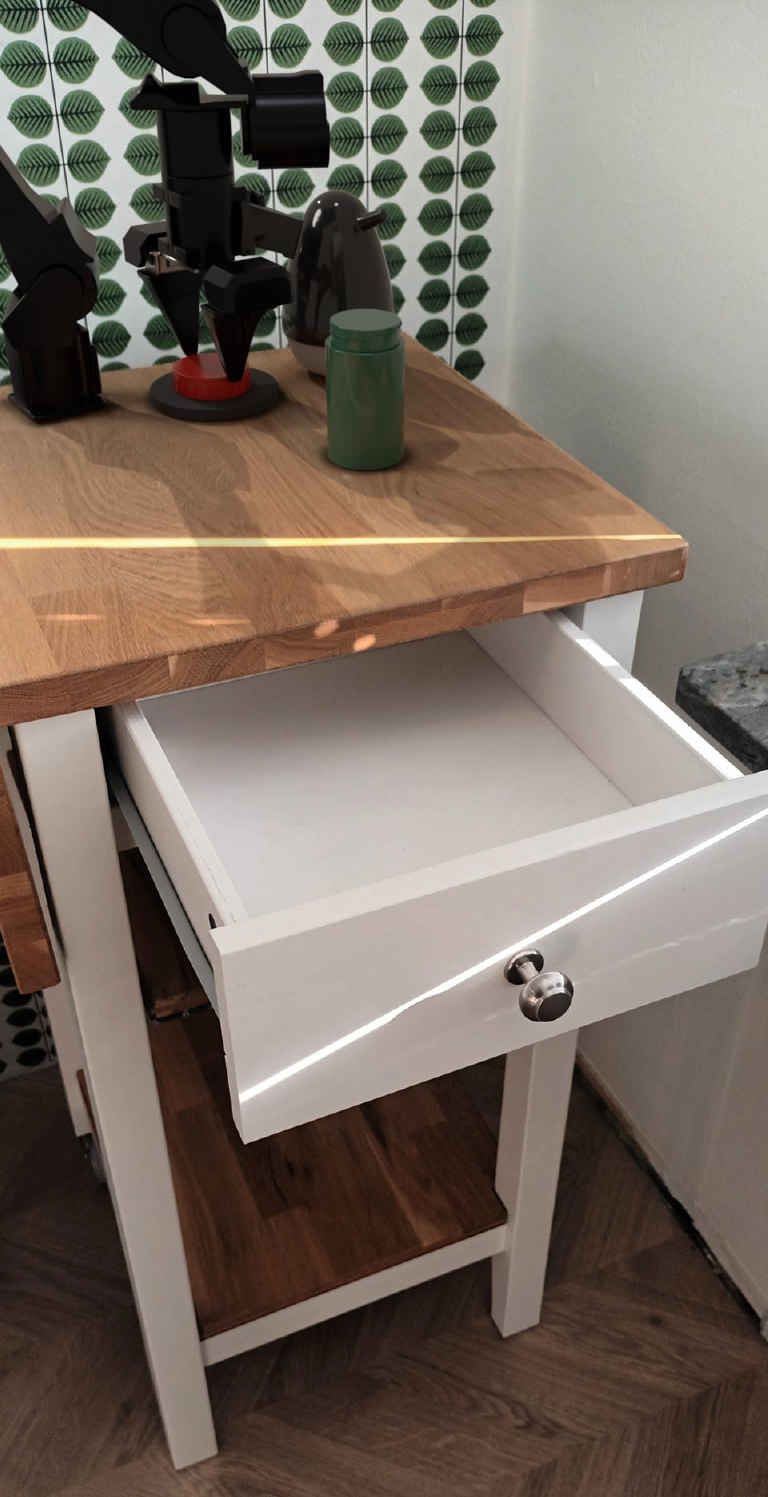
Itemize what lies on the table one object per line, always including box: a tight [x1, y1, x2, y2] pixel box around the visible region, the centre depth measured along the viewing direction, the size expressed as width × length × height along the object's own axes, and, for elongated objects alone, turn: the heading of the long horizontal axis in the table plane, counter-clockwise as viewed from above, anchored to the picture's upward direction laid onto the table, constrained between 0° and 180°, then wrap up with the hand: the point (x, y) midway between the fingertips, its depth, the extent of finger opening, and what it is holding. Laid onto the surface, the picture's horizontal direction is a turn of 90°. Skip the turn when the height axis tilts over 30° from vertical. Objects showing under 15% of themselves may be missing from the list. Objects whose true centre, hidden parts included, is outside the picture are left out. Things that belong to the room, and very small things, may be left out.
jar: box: [325, 309, 406, 471], centre depth 95 cm, size 6×6×11 cm
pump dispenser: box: [281, 189, 396, 377], centre depth 110 cm, size 10×10×15 cm
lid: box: [172, 352, 251, 400], centre depth 107 cm, size 6×6×2 cm
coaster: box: [149, 366, 280, 422], centre depth 108 cm, size 11×11×1 cm
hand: (212, 368), depth 107 cm, fingers open, 7 cm apart
